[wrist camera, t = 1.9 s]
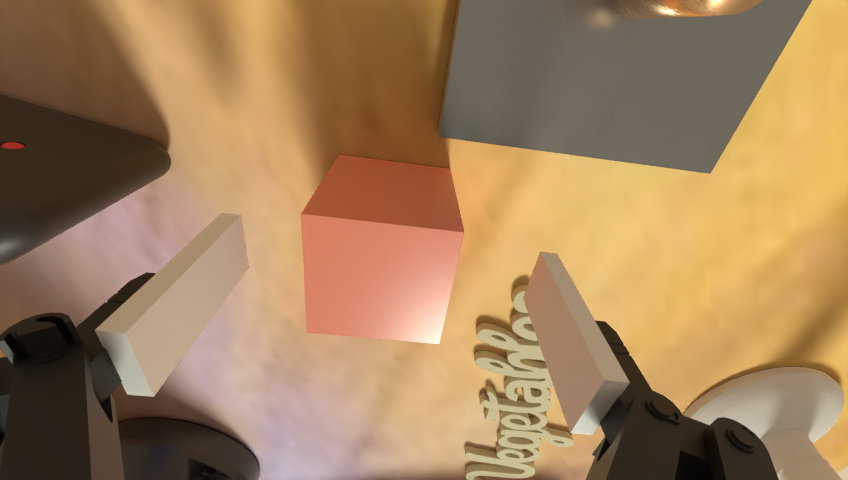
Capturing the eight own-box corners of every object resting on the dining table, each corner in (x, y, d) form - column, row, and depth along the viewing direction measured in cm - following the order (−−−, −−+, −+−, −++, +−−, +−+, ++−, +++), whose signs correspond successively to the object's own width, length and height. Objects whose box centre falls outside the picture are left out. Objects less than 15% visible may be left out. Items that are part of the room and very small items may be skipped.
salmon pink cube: (338, 248, 22) (306, 332, 16) (339, 154, 19) (301, 213, 13) (433, 258, 22) (439, 344, 16) (450, 168, 19) (464, 232, 13)
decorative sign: (560, 485, 36) (464, 488, 36) (557, 475, 37) (463, 478, 37) (624, 286, 23) (470, 292, 23) (617, 277, 23) (468, 283, 24)
